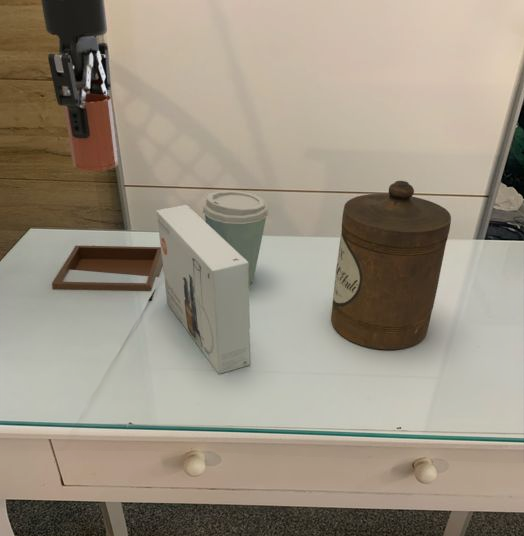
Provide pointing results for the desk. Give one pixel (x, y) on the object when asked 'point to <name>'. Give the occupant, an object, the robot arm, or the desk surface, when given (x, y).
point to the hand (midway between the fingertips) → (91, 130)
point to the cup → (95, 136)
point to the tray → (112, 267)
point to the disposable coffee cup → (238, 222)
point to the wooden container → (388, 267)
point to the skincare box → (206, 287)
